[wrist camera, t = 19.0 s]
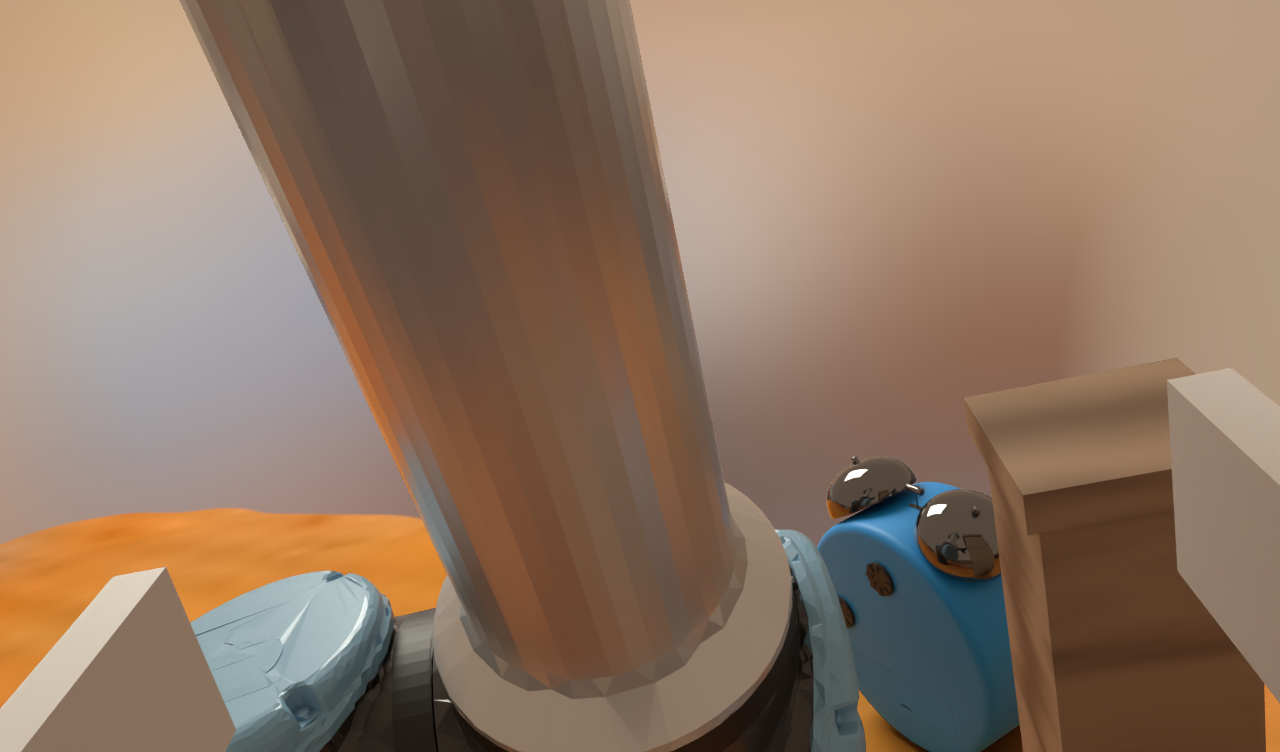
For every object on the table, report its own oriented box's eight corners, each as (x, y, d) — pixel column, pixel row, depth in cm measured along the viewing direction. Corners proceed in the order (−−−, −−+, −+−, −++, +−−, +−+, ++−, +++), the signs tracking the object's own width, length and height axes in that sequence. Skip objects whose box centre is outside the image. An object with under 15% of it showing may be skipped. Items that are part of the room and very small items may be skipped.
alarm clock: (1087, 751, 57) (1062, 492, 52) (1000, 814, 55) (964, 549, 50) (906, 645, 68) (870, 422, 63) (827, 693, 66) (783, 465, 61)
